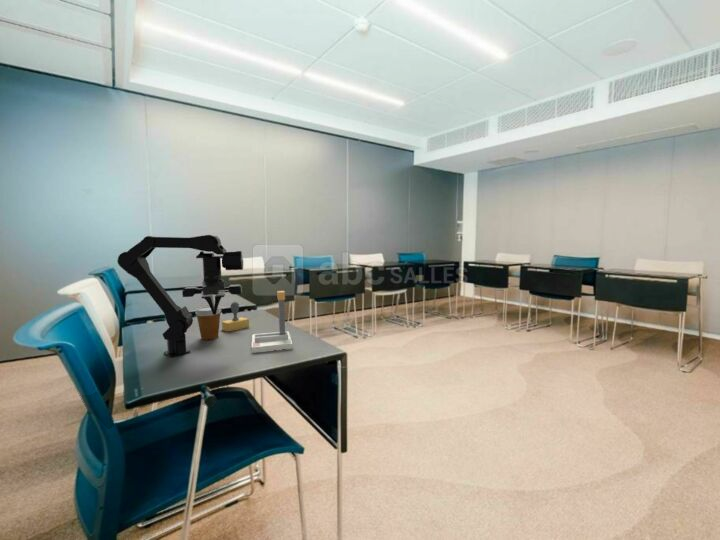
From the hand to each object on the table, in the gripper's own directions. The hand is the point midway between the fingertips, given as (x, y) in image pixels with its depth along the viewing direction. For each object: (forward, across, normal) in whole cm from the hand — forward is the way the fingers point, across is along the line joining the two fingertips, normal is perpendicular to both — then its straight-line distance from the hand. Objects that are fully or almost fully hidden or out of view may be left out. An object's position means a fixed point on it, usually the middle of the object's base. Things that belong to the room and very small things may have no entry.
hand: (214, 314), depth 118 cm
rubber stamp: (+13, +5, +28) cm, 31 cm away
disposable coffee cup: (+13, -4, +16) cm, 22 cm away
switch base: (+13, +19, +1) cm, 23 cm away
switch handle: (+11, +23, +1) cm, 26 cm away
